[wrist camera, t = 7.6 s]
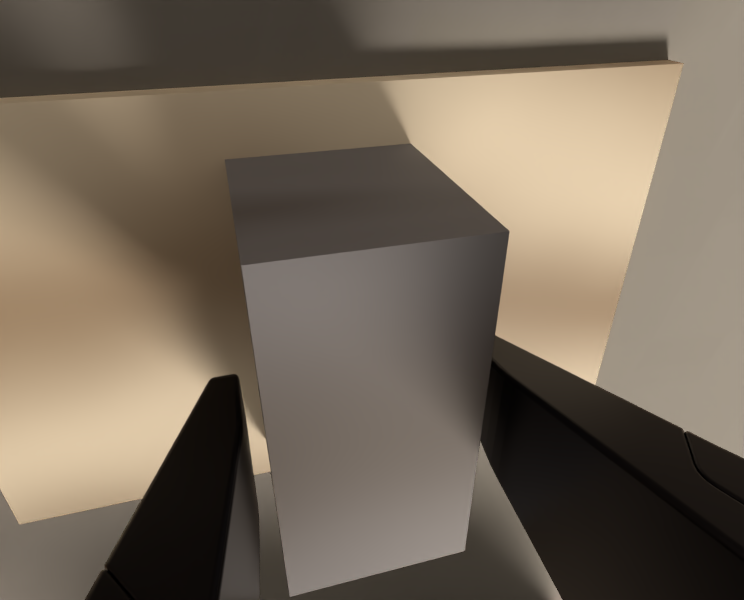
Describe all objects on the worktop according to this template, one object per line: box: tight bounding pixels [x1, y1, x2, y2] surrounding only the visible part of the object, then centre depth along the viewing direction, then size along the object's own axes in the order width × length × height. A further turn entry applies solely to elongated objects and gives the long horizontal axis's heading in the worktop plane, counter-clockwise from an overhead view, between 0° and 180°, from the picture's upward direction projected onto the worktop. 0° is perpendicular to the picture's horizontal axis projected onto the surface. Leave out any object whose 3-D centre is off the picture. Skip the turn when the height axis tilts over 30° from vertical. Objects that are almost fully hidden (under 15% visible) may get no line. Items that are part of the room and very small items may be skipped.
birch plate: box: [0, 60, 684, 597], centre depth 9 cm, size 8×13×4 cm, turn 90°
